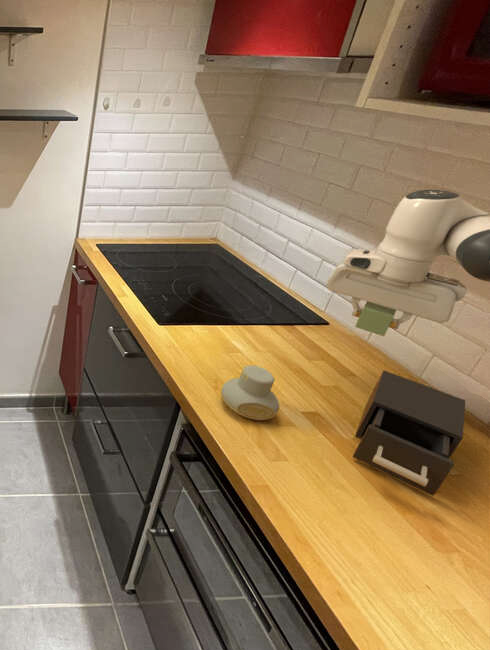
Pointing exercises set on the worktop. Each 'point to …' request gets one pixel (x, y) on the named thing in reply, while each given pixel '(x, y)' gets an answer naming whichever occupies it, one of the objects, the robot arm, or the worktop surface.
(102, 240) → the worktop surface
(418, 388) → the small drawer unit
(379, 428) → the open nightstand drawer
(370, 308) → the block
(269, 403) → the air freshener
